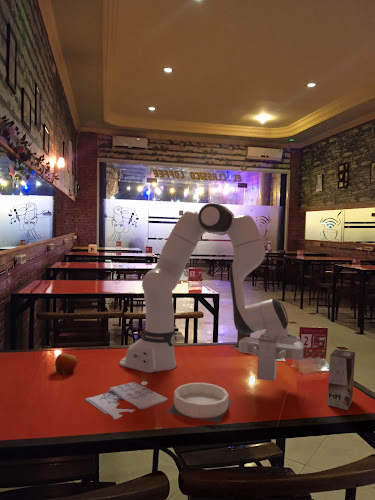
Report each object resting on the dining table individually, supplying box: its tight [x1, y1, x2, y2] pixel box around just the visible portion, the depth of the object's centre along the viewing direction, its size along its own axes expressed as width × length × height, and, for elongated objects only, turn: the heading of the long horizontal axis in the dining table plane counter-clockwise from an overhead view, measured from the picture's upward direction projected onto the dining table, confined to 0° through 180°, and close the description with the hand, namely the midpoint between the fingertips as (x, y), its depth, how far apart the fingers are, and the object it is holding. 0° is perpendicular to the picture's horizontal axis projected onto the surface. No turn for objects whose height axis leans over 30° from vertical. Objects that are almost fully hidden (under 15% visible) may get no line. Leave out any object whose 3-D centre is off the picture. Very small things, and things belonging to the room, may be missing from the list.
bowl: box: [173, 382, 230, 420], centre depth 118 cm, size 16×16×4 cm
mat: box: [166, 399, 233, 424], centre depth 118 cm, size 16×16×1 cm
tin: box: [256, 334, 278, 382], centre depth 118 cm, size 5×5×12 cm
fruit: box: [54, 352, 79, 376], centre depth 143 cm, size 8×8×8 cm
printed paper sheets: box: [84, 381, 169, 420], centre depth 121 cm, size 19×20×2 cm
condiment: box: [230, 330, 251, 350], centre depth 183 cm, size 7×8×12 cm
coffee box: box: [326, 348, 356, 411], centre depth 125 cm, size 9×6×16 cm
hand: (267, 355), depth 117 cm, fingers closed on tin, 5 cm apart
